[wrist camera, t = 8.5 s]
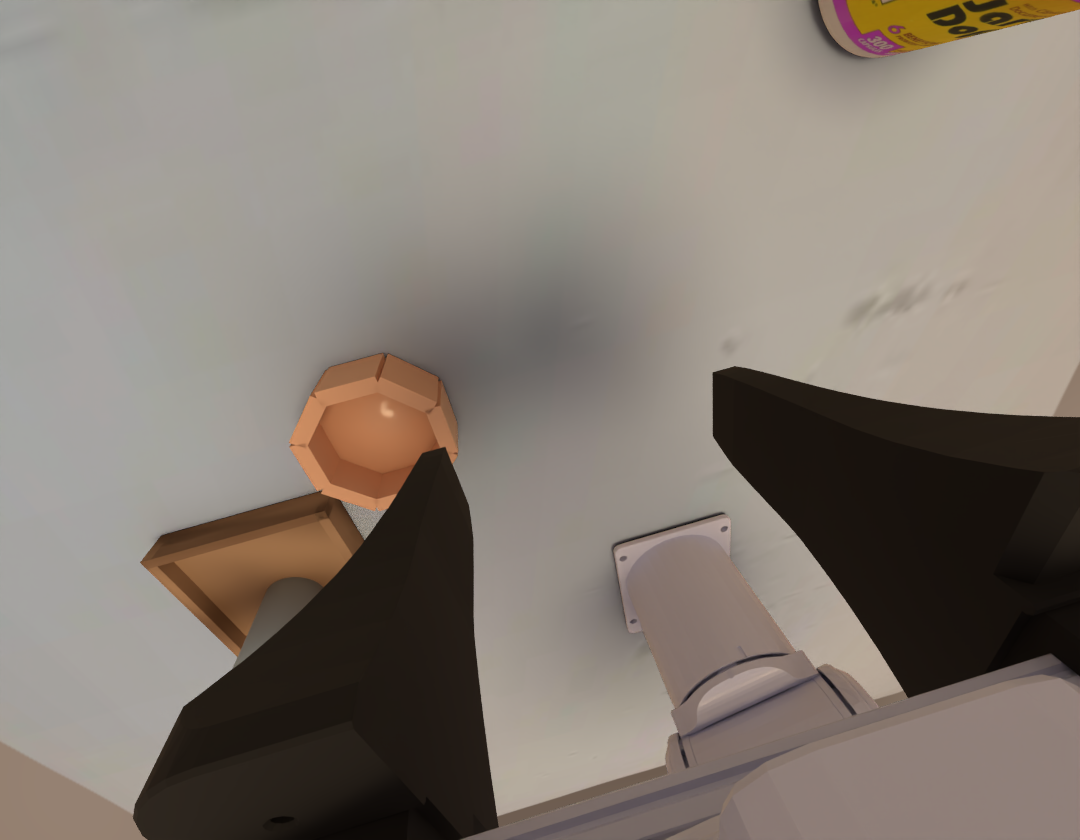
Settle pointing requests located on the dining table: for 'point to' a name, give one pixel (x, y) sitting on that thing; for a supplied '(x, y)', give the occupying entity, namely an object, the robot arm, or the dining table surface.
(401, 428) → the orange octagonal bowl
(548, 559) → the dining table surface
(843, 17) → the supplement bottle
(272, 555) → the tray
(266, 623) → the dowel
